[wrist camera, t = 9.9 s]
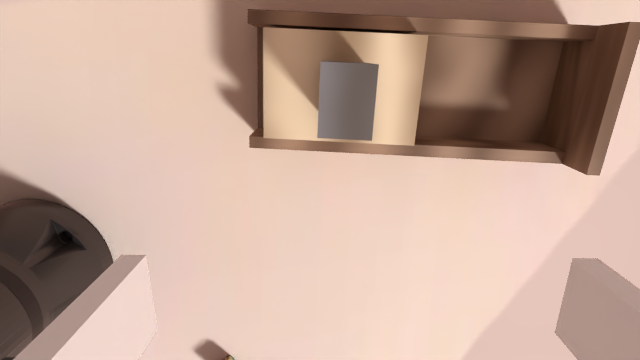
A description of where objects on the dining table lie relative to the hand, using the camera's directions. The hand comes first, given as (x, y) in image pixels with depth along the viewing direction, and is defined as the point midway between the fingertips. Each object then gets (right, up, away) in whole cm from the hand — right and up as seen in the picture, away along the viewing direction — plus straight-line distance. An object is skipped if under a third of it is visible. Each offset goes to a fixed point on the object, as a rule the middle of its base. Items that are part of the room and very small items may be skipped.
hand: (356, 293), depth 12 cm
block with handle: (+1, +12, +22) cm, 25 cm away
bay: (+7, +12, +23) cm, 27 cm away
